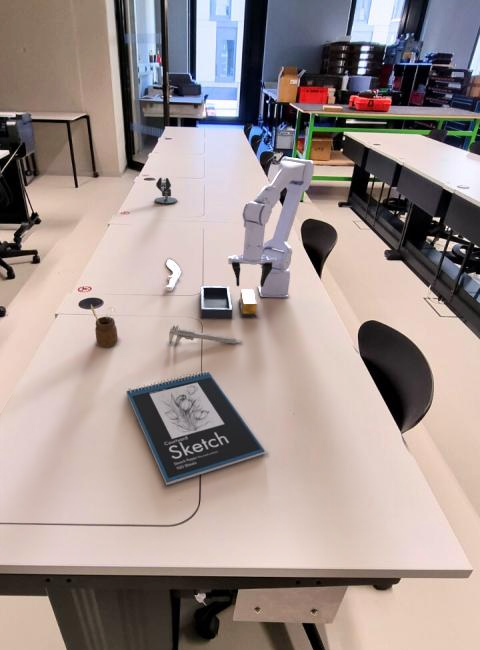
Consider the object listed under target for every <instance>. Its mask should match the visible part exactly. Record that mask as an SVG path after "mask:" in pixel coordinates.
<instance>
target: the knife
mask: <svg viewBox="0 0 480 650" xmlns="http://www.w3.org/2000/svg"><path fill="white" fill-rule="evenodd" d="M165 265H166V266H167V268H168V269H169V270H170V271H172V274H171V275H168V276H167V280H168V285H165V286H164V288H163V289H164V290H165V291H167V292H172V291H173V290H174V288H175V286H176V284H177V282H178V280H179V277H180V276H181V274H182V273H181V268H180V267H179V266H178V264H177V263H176V262H175V261H173V260H172V259H170V258H169V259H167V261H166V264H165Z"/></svg>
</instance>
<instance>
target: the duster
mask: <svg viewBox="0 0 480 650" xmlns="http://www.w3.org/2000/svg"><path fill="white" fill-rule="evenodd" d="M238 302H239V303H238V304H239V308H240V314H241V318H242V319H243V318H244V319H245V318H246V319H257V315H258V314H257V307H258V301H257V297H256V295H255V290H254V289H240V296H239V300H238Z"/></svg>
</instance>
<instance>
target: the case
mask: <svg viewBox="0 0 480 650" xmlns="http://www.w3.org/2000/svg"><path fill="white" fill-rule="evenodd" d="M200 315H201V316H200V317H201V319H214V320H215V319H216V320H217V319H219V320H220V319H222V320H223V319H224V320H232V318H233V306H232V299H231V292H230V287H229V286H214V285H213V286H212V285H211V286H208V285H206V286H205V285H204V286H203V285H201V286H200Z"/></svg>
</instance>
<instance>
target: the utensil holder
mask: <svg viewBox="0 0 480 650" xmlns="http://www.w3.org/2000/svg"><path fill="white" fill-rule="evenodd" d="M90 309H91V311H92V314H93V316H94V317H95V327H94V328H95V329H94V330H95V339H96V343H97V345H98V346H100V347H103V348H111V347H114V346H115V345H116V344H117V343H118V340H119V337H118V328H117V326H116V321H115V316H112V313H110V315H109V316H108V312H106V313H105V315H106V316H101V317H97V313H96V310H95V309H94V306H93V304H90ZM111 310H112V312H115V308H114V307H109V308H108V309H106V311H111Z"/></svg>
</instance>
